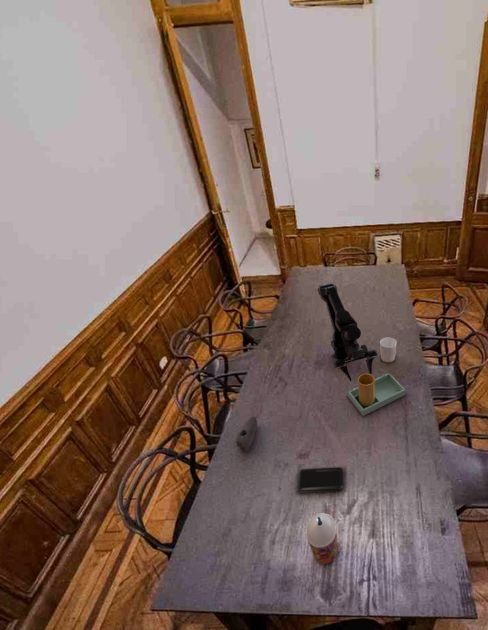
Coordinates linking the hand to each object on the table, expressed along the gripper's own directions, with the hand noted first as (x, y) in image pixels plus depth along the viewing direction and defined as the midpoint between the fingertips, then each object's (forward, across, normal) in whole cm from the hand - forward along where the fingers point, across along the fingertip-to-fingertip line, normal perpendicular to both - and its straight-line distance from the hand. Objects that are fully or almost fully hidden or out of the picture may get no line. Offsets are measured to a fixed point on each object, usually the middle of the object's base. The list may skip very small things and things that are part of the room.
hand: (361, 378), depth 146 cm
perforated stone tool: (+10, -49, +2) cm, 50 cm away
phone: (+29, -28, -17) cm, 44 cm away
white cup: (-5, +20, +17) cm, 27 cm away
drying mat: (+10, 0, +1) cm, 10 cm away
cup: (+9, 0, +1) cm, 9 cm away
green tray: (+9, +5, +2) cm, 11 cm away
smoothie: (+44, -33, -32) cm, 64 cm away
